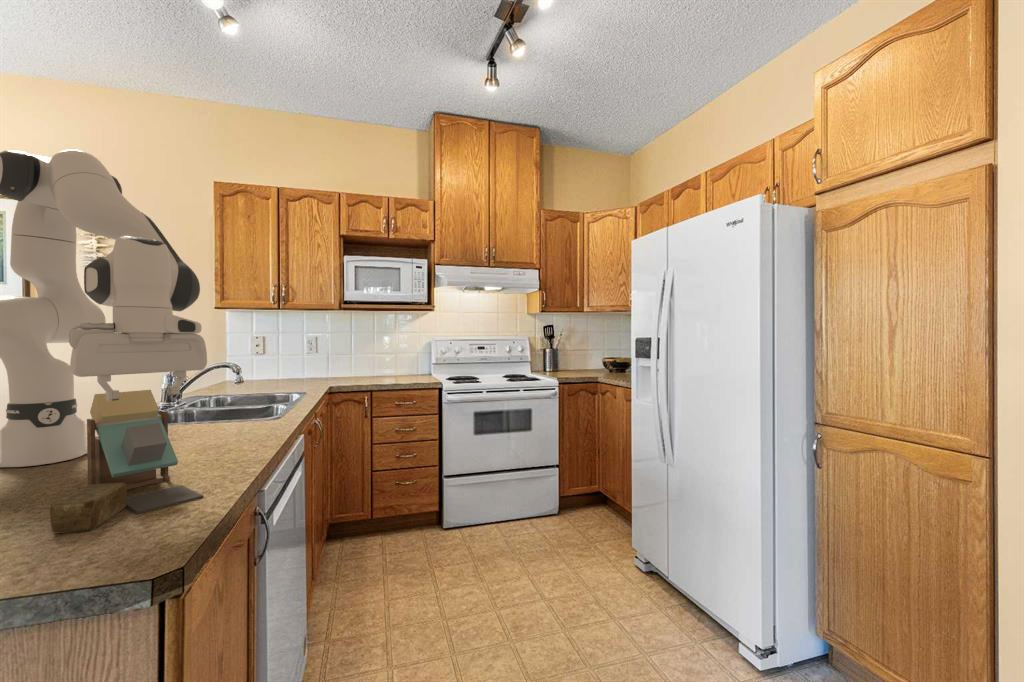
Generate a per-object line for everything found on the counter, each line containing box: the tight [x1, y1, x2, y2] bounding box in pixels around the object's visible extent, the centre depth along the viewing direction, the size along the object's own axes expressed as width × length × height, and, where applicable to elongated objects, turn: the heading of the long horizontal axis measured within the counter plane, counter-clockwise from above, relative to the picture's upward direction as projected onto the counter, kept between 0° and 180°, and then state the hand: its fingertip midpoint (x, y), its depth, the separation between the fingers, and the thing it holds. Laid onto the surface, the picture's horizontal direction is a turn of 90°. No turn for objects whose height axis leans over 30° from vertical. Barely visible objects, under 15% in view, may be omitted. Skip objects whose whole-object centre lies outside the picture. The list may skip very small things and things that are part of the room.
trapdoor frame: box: [77, 410, 171, 490], centre depth 95 cm, size 8×13×14 cm, turn 145°
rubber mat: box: [125, 484, 204, 515], centre depth 87 cm, size 10×10×1 cm
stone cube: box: [121, 423, 167, 466], centre depth 89 cm, size 5×5×5 cm
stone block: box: [49, 483, 127, 534], centre depth 78 cm, size 6×12×5 cm, turn 17°
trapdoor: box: [89, 389, 179, 478], centre depth 92 cm, size 18×10×5 cm
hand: (144, 397), depth 88 cm, fingers open, 8 cm apart
